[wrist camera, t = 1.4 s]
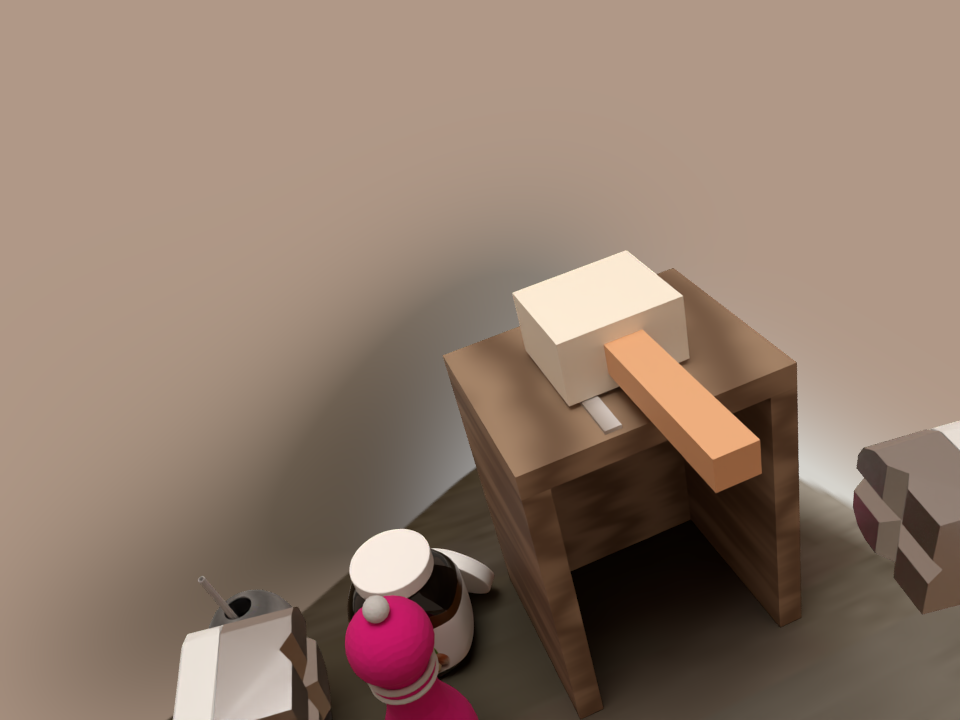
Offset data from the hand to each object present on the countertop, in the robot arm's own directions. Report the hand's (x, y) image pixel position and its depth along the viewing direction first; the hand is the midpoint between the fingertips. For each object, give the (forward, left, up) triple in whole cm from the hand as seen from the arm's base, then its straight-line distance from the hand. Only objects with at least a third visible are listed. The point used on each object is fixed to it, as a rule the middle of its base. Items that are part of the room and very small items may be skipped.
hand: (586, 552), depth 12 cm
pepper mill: (-6, +32, -52) cm, 61 cm away
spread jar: (-3, +45, -52) cm, 69 cm away
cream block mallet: (+15, +32, -26) cm, 44 cm away
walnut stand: (+15, +39, -52) cm, 67 cm away
